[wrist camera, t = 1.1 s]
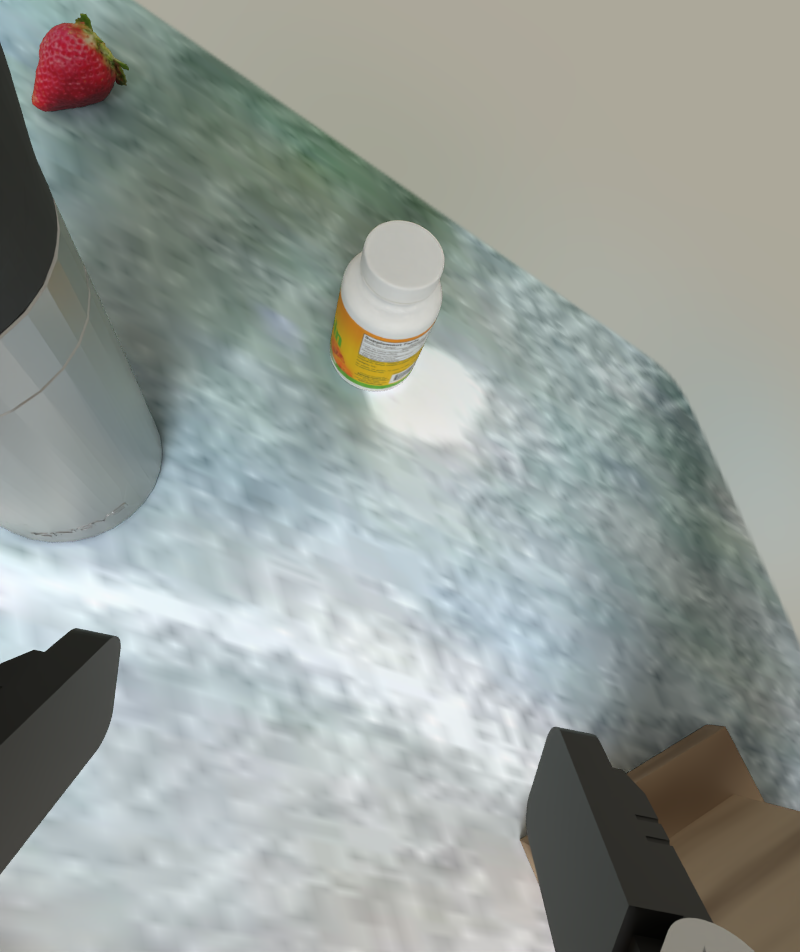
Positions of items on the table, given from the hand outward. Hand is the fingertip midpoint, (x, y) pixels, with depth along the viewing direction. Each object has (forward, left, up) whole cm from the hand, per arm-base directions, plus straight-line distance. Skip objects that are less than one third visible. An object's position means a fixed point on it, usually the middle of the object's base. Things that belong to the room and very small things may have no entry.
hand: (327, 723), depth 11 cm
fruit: (-40, 0, -21) cm, 45 cm away
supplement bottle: (-17, +12, -21) cm, 29 cm away
